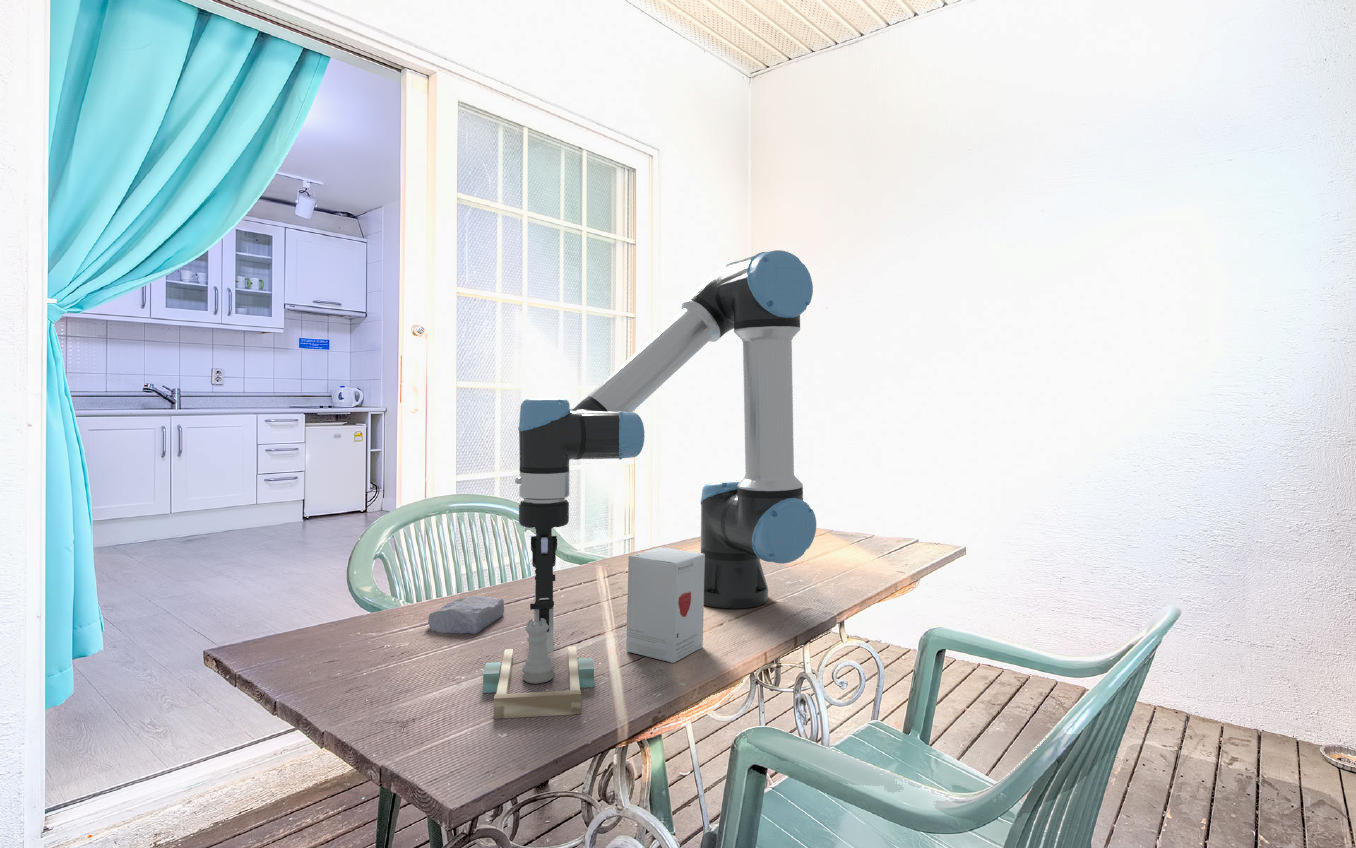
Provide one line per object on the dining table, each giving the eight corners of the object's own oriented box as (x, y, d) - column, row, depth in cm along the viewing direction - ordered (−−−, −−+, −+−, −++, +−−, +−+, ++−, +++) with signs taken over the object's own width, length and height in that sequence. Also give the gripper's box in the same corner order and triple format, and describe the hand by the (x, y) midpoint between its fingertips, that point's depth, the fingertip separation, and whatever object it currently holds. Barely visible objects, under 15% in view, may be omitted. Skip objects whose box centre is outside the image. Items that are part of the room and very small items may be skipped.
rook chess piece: (525, 672, 100) (523, 616, 99) (557, 671, 100) (555, 615, 100) (519, 685, 95) (517, 627, 95) (553, 684, 96) (551, 625, 95)
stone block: (423, 643, 117) (479, 635, 115) (419, 614, 117) (474, 606, 115) (458, 624, 129) (509, 616, 127) (454, 597, 129) (505, 590, 127)
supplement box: (674, 665, 104) (675, 563, 103) (624, 652, 109) (626, 555, 108) (705, 647, 112) (706, 552, 111) (657, 636, 116) (659, 545, 116)
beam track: (490, 659, 105) (491, 643, 104) (589, 655, 107) (589, 639, 107) (476, 720, 85) (476, 699, 85) (597, 713, 87) (597, 693, 87)
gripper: (520, 489, 120) (520, 613, 121) (516, 512, 95) (515, 668, 96) (565, 488, 121) (565, 611, 122) (572, 511, 97) (571, 665, 98)
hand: (543, 637), depth 109 cm, fingers open, 13 cm apart
